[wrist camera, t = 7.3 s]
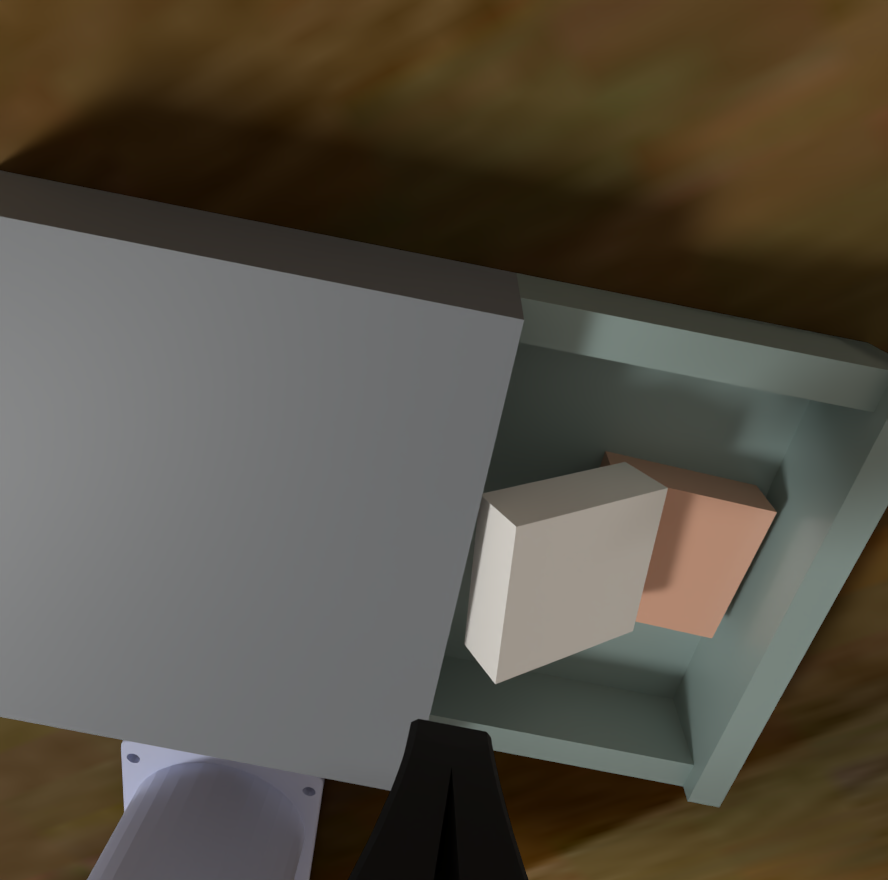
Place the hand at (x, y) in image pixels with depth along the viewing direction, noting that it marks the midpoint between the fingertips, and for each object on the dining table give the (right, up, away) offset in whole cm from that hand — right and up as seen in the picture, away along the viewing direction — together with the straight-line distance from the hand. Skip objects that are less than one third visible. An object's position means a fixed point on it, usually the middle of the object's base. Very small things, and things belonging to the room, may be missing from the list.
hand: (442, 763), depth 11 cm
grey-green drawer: (+5, +3, +9) cm, 11 cm away
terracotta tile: (+6, +2, +7) cm, 9 cm away
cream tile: (+3, +3, +5) cm, 7 cm away
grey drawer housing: (-6, +5, +8) cm, 12 cm away
